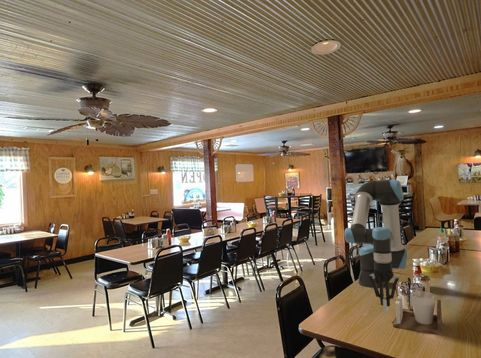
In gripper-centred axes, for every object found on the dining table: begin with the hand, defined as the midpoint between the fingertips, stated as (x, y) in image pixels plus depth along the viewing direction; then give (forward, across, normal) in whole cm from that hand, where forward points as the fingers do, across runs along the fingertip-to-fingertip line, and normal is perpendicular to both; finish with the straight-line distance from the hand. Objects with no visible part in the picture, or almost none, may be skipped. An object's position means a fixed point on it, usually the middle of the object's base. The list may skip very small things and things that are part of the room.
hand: (385, 312), depth 150 cm
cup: (+2, +15, +2) cm, 15 cm away
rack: (+3, +13, +1) cm, 13 cm away
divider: (+2, +6, 0) cm, 6 cm away
